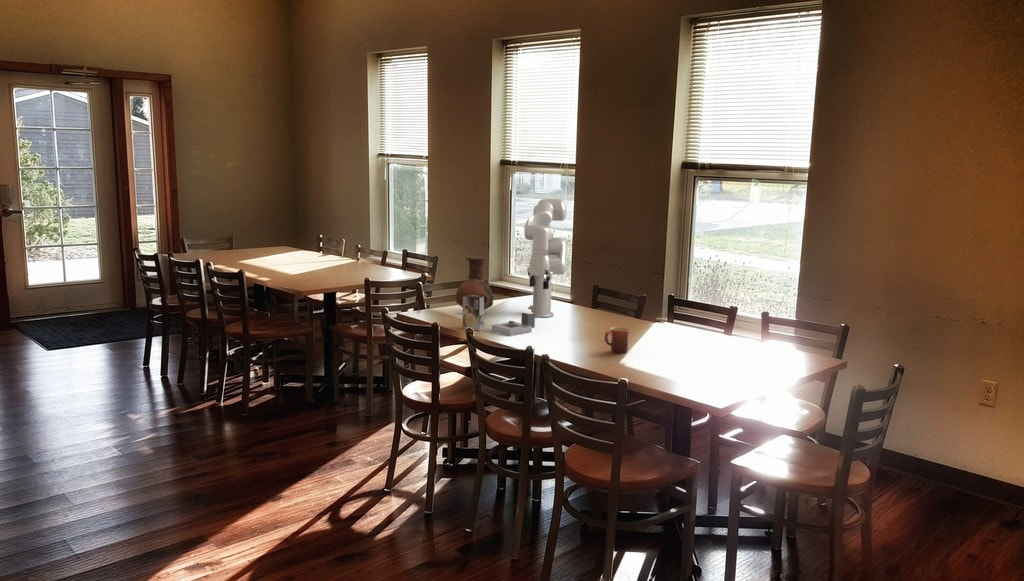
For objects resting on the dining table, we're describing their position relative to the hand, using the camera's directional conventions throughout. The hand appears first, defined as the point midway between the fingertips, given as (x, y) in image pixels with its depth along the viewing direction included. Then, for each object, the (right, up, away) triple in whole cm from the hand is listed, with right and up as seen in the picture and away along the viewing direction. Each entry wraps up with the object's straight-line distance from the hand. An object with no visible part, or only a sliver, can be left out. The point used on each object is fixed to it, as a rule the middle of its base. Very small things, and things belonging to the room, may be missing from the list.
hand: (539, 287), depth 384 cm
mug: (+32, -28, -41) cm, 59 cm away
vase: (-33, -14, +32) cm, 48 cm away
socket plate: (-13, -21, -7) cm, 26 cm away
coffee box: (-32, -20, -3) cm, 38 cm away
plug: (-5, -19, +4) cm, 20 cm away
